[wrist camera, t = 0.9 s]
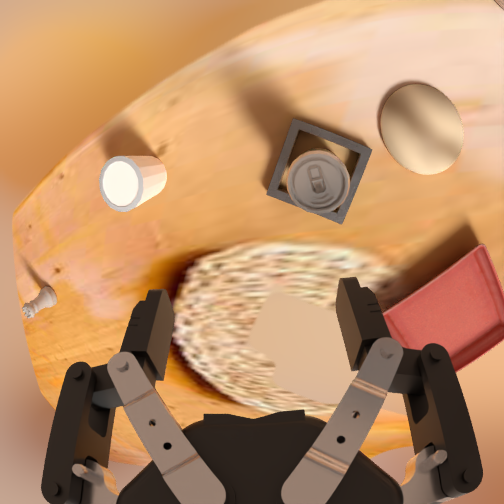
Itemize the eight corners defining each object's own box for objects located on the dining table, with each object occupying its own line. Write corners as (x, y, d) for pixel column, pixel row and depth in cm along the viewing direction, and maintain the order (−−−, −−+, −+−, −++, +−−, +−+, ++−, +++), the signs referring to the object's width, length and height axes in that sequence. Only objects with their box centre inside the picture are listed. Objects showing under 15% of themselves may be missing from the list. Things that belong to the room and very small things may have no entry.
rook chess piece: (56, 289, 52) (30, 307, 45) (59, 307, 54) (34, 325, 47) (43, 282, 53) (17, 299, 46) (46, 300, 55) (22, 317, 47)
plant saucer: (420, 379, 42) (423, 393, 39) (369, 307, 40) (372, 320, 37) (507, 320, 35) (515, 331, 32) (473, 233, 33) (483, 240, 30)
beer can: (290, 154, 35) (276, 160, 24) (334, 143, 33) (341, 143, 22) (303, 197, 36) (294, 223, 25) (346, 186, 35) (358, 208, 24)
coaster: (395, 69, 28) (396, 68, 27) (471, 112, 27) (473, 111, 27) (367, 150, 32) (368, 150, 32) (444, 188, 32) (446, 189, 31)
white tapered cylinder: (156, 209, 41) (128, 223, 35) (122, 182, 41) (91, 192, 34) (179, 168, 38) (152, 175, 32) (142, 142, 38) (111, 145, 32)
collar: (294, 119, 33) (293, 118, 32) (370, 149, 32) (372, 149, 31) (268, 192, 37) (266, 194, 36) (341, 221, 36) (341, 224, 35)
